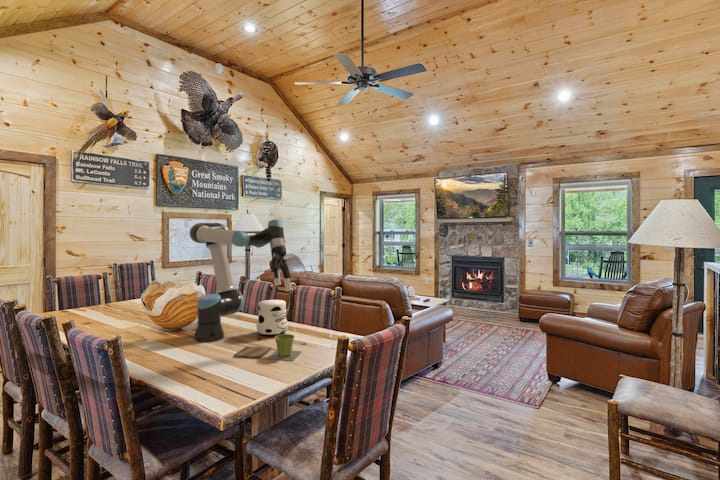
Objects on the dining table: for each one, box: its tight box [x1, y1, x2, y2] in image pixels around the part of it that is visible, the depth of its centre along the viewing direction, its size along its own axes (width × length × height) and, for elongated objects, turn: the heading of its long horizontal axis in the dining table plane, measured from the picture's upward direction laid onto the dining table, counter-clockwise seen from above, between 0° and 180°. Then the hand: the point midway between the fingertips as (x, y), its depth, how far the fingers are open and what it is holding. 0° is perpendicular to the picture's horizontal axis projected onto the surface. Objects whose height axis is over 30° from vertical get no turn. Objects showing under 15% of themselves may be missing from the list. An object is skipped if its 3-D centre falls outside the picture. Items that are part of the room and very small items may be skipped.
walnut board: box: [233, 345, 272, 360], centre depth 184 cm, size 13×13×1 cm
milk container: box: [256, 299, 289, 337], centre depth 218 cm, size 17×17×18 cm
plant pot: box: [274, 333, 296, 357], centre depth 181 cm, size 9×9×9 cm
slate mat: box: [266, 349, 303, 362], centre depth 181 cm, size 13×13×1 cm
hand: (283, 288), depth 188 cm, fingers open, 13 cm apart
